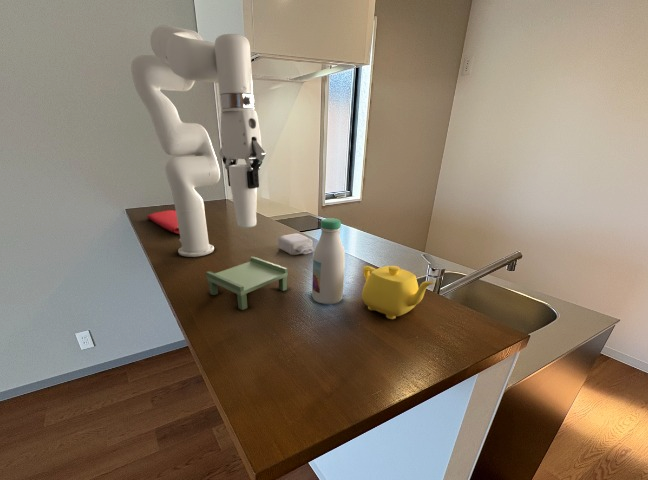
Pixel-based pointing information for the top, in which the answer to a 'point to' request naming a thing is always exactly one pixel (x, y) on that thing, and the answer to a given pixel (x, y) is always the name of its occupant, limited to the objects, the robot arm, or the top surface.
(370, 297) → the teapot
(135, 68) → the robot arm
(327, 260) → the milk bottle
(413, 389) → the top surface
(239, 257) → the top surface
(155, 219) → the red flat wedge
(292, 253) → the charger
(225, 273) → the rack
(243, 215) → the drinking glass
